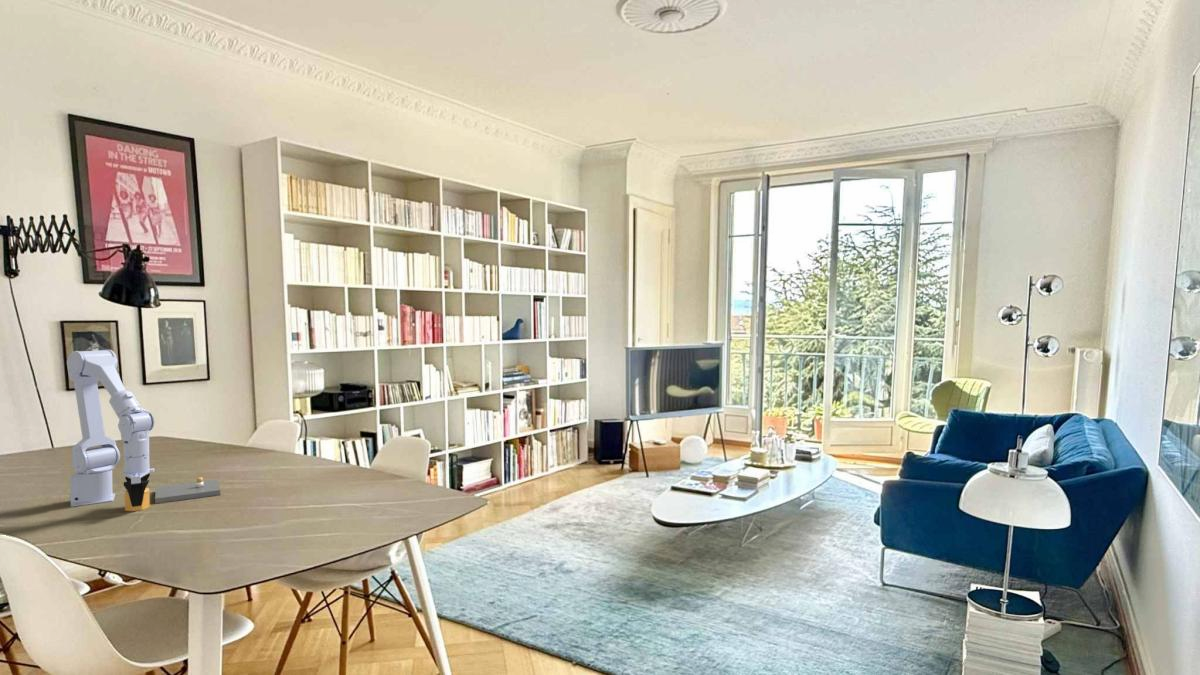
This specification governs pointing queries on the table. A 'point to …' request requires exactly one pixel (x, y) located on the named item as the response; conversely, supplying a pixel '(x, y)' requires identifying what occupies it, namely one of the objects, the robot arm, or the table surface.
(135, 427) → the robot arm
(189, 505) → the table surface
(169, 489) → the plate
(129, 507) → the orange acorn nut
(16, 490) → the table surface
